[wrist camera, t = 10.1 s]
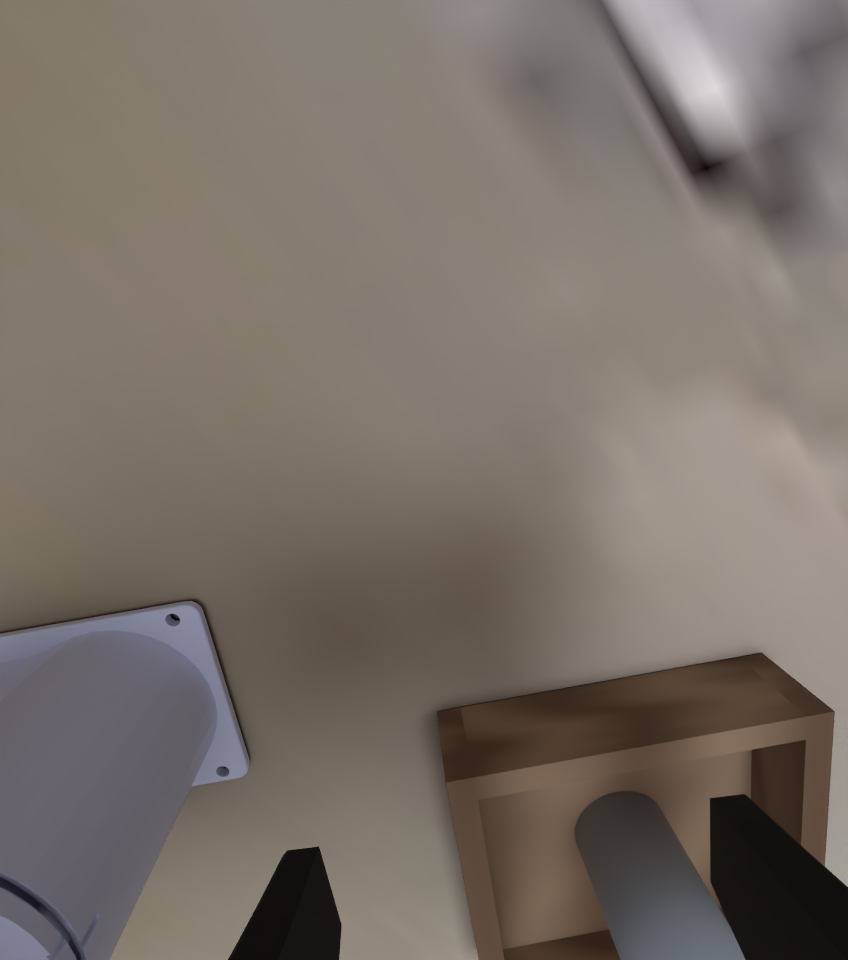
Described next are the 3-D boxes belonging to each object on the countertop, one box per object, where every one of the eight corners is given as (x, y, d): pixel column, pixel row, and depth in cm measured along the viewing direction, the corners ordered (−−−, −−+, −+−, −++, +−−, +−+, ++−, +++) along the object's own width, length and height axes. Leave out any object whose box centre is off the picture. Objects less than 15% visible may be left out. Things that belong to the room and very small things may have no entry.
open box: (480, 948, 24) (494, 1046, 20) (437, 711, 20) (446, 782, 17) (757, 896, 24) (816, 984, 21) (762, 653, 21) (834, 711, 17)
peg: (578, 870, 22) (679, 1150, 14) (570, 800, 21) (674, 1060, 13) (664, 853, 22) (812, 1124, 14) (661, 783, 21) (817, 1033, 13)
